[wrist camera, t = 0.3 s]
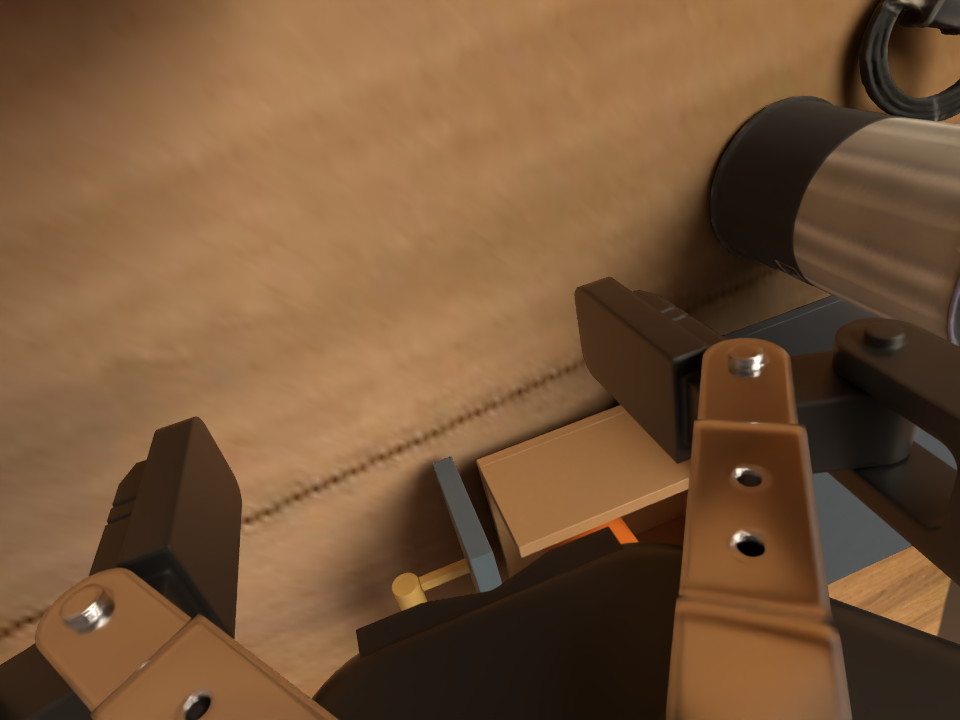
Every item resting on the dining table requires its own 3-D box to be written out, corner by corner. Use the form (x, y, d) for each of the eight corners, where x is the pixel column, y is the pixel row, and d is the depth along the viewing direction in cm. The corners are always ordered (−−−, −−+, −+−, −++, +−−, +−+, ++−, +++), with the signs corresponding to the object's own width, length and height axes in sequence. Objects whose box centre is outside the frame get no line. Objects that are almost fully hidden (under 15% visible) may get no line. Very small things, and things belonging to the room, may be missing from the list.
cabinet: (638, 528, 46) (718, 635, 38) (623, 372, 38) (720, 465, 30) (834, 446, 48) (947, 530, 40) (857, 285, 40) (1003, 349, 32)
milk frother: (687, 261, 35) (916, 387, 23) (765, -65, 28) (1164, -137, 16) (871, 253, 39) (1148, 356, 27) (980, -31, 32) (1429, -67, 20)
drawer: (421, 625, 42) (449, 735, 35) (361, 489, 35) (383, 596, 28) (683, 515, 45) (754, 597, 38) (678, 369, 38) (764, 440, 31)
